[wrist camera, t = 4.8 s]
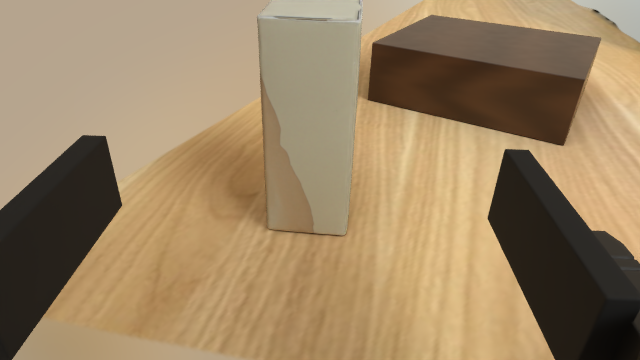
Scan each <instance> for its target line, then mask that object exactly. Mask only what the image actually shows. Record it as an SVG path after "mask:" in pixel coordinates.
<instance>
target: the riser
mask: <svg viewBox="0 0 640 360" xmlns="http://www.w3.org/2000/svg"><path fill="white" fill-rule="evenodd" d="M600 41H601V38H598V37H591V36H583V35H576V34H569V33H561V32H554V31H546V30H539V29H532V28H524V27H517V26H510V25H502V24H495V23H487V22H480V21H473V20H465V19H458V18H450V17H443V16H436V15H430V16H428V17H426V18H424V19H422V20H420V21H418V22H416V23H414V24H411V25H409V26H407V27H405V28H403V29H401V30H399V31H397V32H395V33H392V34H390V35H388V36H386V37H384V38H382V39H380V40H378V41H376V42H373V44H372V57H371V69H370V82H369V94H368V100H372V101H376V102H381V103H385V104H389V105H393V106H398V107H402V108H406V109H410V110H415V111H419V112H423V113H428V114H432V115H436V116H440V117H445V118H449V119H453V120H457V121H462V122H466V123H470V124H474V125H479V126H483V127H487V128H492V129H496V130H500V131H504V132H509V133H513V134H517V135H521V136H526V137H530V138H534V139H538V140H543V141H547V142H551V143H556V144H560V145H564V143H565V141H566V138H567V135H568V133H569V130H570V127H571V125H572V122H573V119H574V116H575V114H576V111H577V108H578V106H579V103H580V100H581V98H582V95H583V92H584V89H585V86H586V83H587V80H588V77H589V74H590V71H591V68H592V65H593V62H594V59H595V56H596V53H597V50H598V47H599V44H600Z"/></svg>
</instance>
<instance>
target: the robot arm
mask: <svg viewBox="0 0 640 360" xmlns="http://www.w3.org/2000/svg"><path fill="white" fill-rule="evenodd" d="M121 206H122V202H121V198H120V194H119V190H118V186H117V182H116V178H115V173H114V169H113V165H112V161H111V157H110V153H109V148H108V144H107V140H106V136H87V135H83V136H81V137H80V138H79V139H78V140H77V141H76V142H75V143H74V144H73V145H72V146H70V147H69V148H68V149H67V150H66V151H65V152H64V153H63V154H62V155H61V156H59V157H58V158H57V159H56V160H55V161H54V162H53V163H52V164H51V165H49V166H48V167H47V168H46V169H45V170H44V171H43V172H42V173H41V174H40V175H38V176H37V177H36V178H35V179H34V180H33V181H32V182H31V183H30V184H29V185H27V186H26V187H25V188H24V189H23V190H22V191H21V192H20V193H19V194H18V195H16V196H15V197H14V198H13V199H12V200H11V201H10V202H9V203H8V204H7V205H5V206H4V207H3V208H2V209H1V210H0V360H12V359H13V357H14V356H15V355H16V353H17V352H18V350H19V349H20V348H21V346H22V345H23V343H24V342H25V340H26V339H27V337H28V336H29V335H30V333H31V332H32V331H33V329H34V328H35V327H36V325H37V324H38V322H39V321H40V320H41V318H42V317H43V315H44V314H45V313H46V311H47V310H48V308H49V307H50V306H51V304H52V303H53V301H54V300H55V299H56V297H57V296H58V294H59V293H60V292H61V290H62V289H63V287H64V286H65V285H66V283H67V282H68V280H69V279H70V278H71V276H72V275H73V273H74V272H75V271H76V269H77V268H78V266H79V265H80V264H81V262H82V261H83V259H84V258H85V257H86V255H87V254H88V252H89V251H90V250H91V248H92V247H93V245H94V244H95V243H96V241H97V240H98V238H99V237H100V236H101V234H102V233H103V231H104V230H105V229H106V227H107V226H108V224H109V223H110V222H111V220H112V219H113V217H114V216H115V215H116V213H117V212H118V210H119V209H120V208H121ZM488 220H489V222H490V225H491V227H492V229H493V231H494V233H495V235H496V237H497V239H498V241H499V243H500V245H501V248H502V250H503V252H504V254H505V256H506V258H507V260H508V262H509V264H510V266H511V268H512V271H513V273H514V275H515V277H516V279H517V281H518V283H519V285H520V287H521V289H522V291H523V294H524V296H525V298H526V300H527V302H528V304H529V306H530V308H531V310H532V312H533V315H534V317H535V319H536V321H537V323H538V325H539V327H540V329H541V331H542V333H543V335H544V338H545V340H546V342H547V344H548V346H549V348H550V350H551V352H552V354H553V356H554V358H555V360H640V264H639V262H638V261H637V260H634V256H633V255H632V254H631V253H630V252H629V250H628V249H627V248H626V247H625V246H624V244H623V243H621V242H620V241H618V240H617V239H615V238H614V237H613V236H611V235H610V234H608V233H607V232H605V231H591V230H590V228H589V227H588V226H587V224H586V223H585V222H584V221H583V219H582V218H581V217H580V215H579V214H578V213H577V212H576V210H575V209H574V208H573V206H572V205H571V204H570V203H569V201H568V200H567V199H566V197H565V196H564V195H563V194H562V192H561V191H560V190H559V188H558V187H557V186H556V185H555V183H554V182H553V181H552V179H551V178H550V177H549V176H548V174H547V173H546V172H545V170H544V169H543V168H542V167H541V165H540V164H539V163H538V161H537V160H536V159H535V158H534V156H533V155H532V154H531V152H530V151H529V150H513V149H505V151H504V155H503V159H502V163H501V167H500V171H499V175H498V179H497V183H496V187H495V191H494V195H493V199H492V203H491V207H490V211H489V215H488Z"/></svg>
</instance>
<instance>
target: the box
mask: <svg viewBox="0 0 640 360" xmlns="http://www.w3.org/2000/svg"><path fill="white" fill-rule="evenodd" d="M362 1H363V0H271V1H270V2H269V3H268V5H267V6H266V7H265V8H264V9H263V10H262V12H261V13H260V14H259V15H258V16H257V23H258V39H259V61H260V84H261V104H262V124H263V148H264V169H265V188H266V209H267V227H268V229H272V230H283V231H294V232H306V233H317V234H330V235H341V236H343V235H345V234H346V231H347V225H348V216H349V202H350V190H351V178H352V166H353V153H354V137H355V123H356V109H357V96H358V82H359V66H360V50H361V29H362V12H363V3H362Z"/></svg>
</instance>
